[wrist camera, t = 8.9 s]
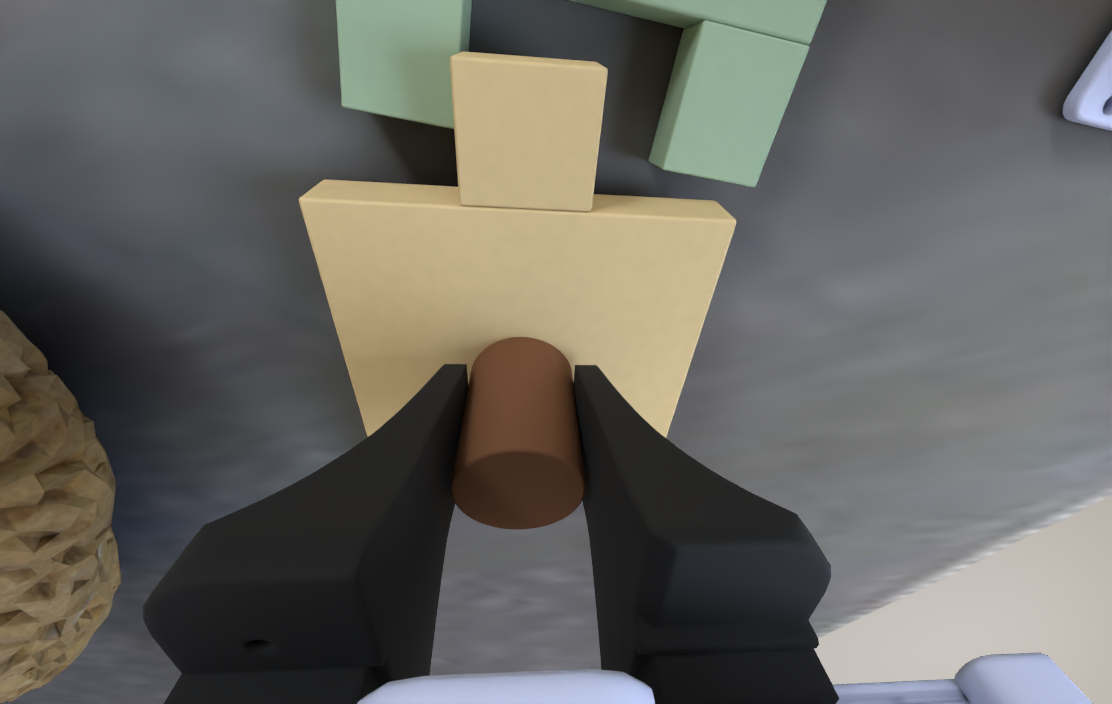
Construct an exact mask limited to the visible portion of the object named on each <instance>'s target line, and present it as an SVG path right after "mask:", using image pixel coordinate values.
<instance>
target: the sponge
mask: <svg viewBox="0 0 1112 704" xmlns="http://www.w3.org/2000/svg"><path fill="white" fill-rule="evenodd" d="M115 491H116V481H115V478H114V475H113V472H112V469H111V466H110V463H109V459H108V456H107V454H106V451H105V449H104V448H103V446H102V445H101V443H100V442H99V440H98V439H97V437H96V436H95V428H94V421H92V420H91V419H89V418H87V417H86V416H85V415H84V414H83V413H82V412H81V411H80V410H79V407H78V404H77V400H76V399H75V397H74V396H73V395H72V393H71V392H70V391H69V390H68V388H67V387H66V386H65V384H64V383H63V382H62V381H61V379H60V378H59V377H58V375H55V374H54V373H53V371H51V370H48V366H47V360H46V358H45V356H44V354H43V353H42V352H41V351H40V350H39V349H38V348H37V347H35V346H34V345H33V344H32V343H31V342H30V341H29V340H28V339H27V338H26V337H25V336H24V334H23V333H22V332H21V331H20V330H19V329H18V328H17V326H16V325H15V324H14V323H13V322H12V321H11V320H10V318H9V317H8V316H7V315H6V314H5V313H4V312H3V311H1V310H0V703H2V702H4V701H7V700H8V701H9V702H12V701H13V700H15V699H16V698H18V697H19V696H21V695H22V694H24V693H26V692H28V691H30V690H32V689H36V688H40V687H42V686H41V685H44V684H46V683H48V682H50V681H51V680H52V679H53V678H55V677H56V676H57V675H58V674H59V673H60V672H62V671H63V670H64V669H65V668H66V667H67V666H69V665H70V664H71V663H72V662H73V661H74V660H75V659H76V658H77V657H78V656H79V654H80V653H81V652H82V651H83V650H84V649H85V647H86V645H87V644H88V642H89V640H90V638H91V637H92V635H93V634H94V633H95V631H96V630H97V629H98V628H99V627H100V625H101V624H102V623H103V622H104V620H105V619H106V618H107V617H108V615H109V612H110V610H111V607H112V602H113V595H114V593H115V592H116V590H117V588H118V586H119V584H121V577H122V574H121V572H120V569H119V568H120V567H121V566H120V563H119V559H118V545H117V539H115V537H114V534H113V531H112V528H111V522H112V514H113V507H114V499H115Z"/></svg>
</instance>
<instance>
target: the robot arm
mask: <svg viewBox="0 0 1112 704" xmlns="http://www.w3.org/2000/svg"><path fill="white" fill-rule="evenodd" d="M1106 101H1107V102H1106ZM1105 102H1106V104H1105ZM1104 104H1105V106H1104ZM1103 106H1104V107H1103ZM1062 112H1063V115H1064V118H1066V119H1067V120H1069V121H1072V122H1076V123H1080V124H1084V125H1089V126H1093V127H1097V128H1101V129H1105V130H1109V131H1112V30H1111V32H1110V33H1109V35H1108V36H1107V38H1106V39H1105V41H1104V42H1103V44H1102V45H1101V47H1100V48H1099V50H1098V51H1097V53H1096V54H1095V56H1094V57H1093V59H1092V60H1091V62H1090V63H1089V65H1088V66H1087V68H1086V69H1085V71H1084V72H1083V74H1082V75H1081V77H1080V78H1079V80H1078V81H1077V83H1076V84H1075V86H1074V87H1073V89H1072V90H1071V92H1070V93H1069V95H1068V96H1067V98H1066V100H1065V102H1064V105H1063V111H1062ZM573 385H574V393H575V402H576V410H577V418H578V426H579V434H580V443H581V451H582V460H583V468H584V477H585V485H586V487H585V494H584V497H583V499H582V500H583V505H584V510H585V514H586V519H587V525H588V531H589V537H590V547H591V556H592V566H593V576H594V587H595V597H596V608H597V620H598V631H599V643H600V655H601V668H602V670H598V669H575V670H551V671H528V672H504V673H481V674H457V675H433V676H429V674H430V665H431V657H432V648H433V640H434V632H435V623H436V615H437V607H438V600H439V592H440V585H441V577H442V570H443V563H444V556H445V549H446V542H447V537H448V532H449V527H450V522H451V518H452V514H453V510H454V506H455V501H454V499H453V496H452V492H451V483H452V478H453V472H454V466H455V460H456V454H457V449H458V443H459V437H460V431H461V425H462V420H463V414H464V408H465V403H466V397H467V391H468V374H467V364H444V365H443V366H442V367H441V368H440V369H439V370H438V371H437V372H436V373H435V374H434V375H433V376H432V377H431V379H430V380H429V381H428V382H427V383H426V384H425V385H424V386H423V387H422V388H421V389H420V390H419V391H418V392H417V393H416V394H415V395H414V396H413V397H412V398H411V399H410V400H409V401H408V402H407V403H406V404H405V405H404V406H403V407H402V408H401V409H400V410H399V411H398V412H397V413H396V414H395V415H394V416H392V417H391V418H390V419H389V420H388V421H387V422H386V423H385V424H384V425H382V426H381V427H380V428H379V429H378V430H376V431H375V432H374V433H373V434H371V435H370V436H369V437H367V438H366V439H365V440H363V441H362V442H360V443H359V444H358V445H356V446H355V447H354V448H352V449H351V450H349V451H348V452H346V453H345V454H343V455H341V456H340V457H338V458H337V459H335V460H333V461H332V462H330V463H329V464H327V465H325V466H324V467H322V468H321V469H319V470H317V471H316V472H314V473H312V474H311V475H309V476H307V477H305V478H303V479H302V480H300V481H298V482H296V483H294V484H292V485H291V486H289V487H287V488H285V489H283V490H281V491H279V492H277V493H275V494H273V495H271V496H269V497H267V498H265V499H263V500H261V501H258V502H256V503H254V504H252V505H249V506H247V507H245V508H243V509H240V510H238V511H236V512H234V513H231V514H229V515H227V516H225V517H222V518H220V519H218V520H215V521H213V522H211V523H208V524H206V525H204V526H203V527H202V528H201V530H200V531H199V532H198V533H197V534H196V536H195V537H194V538H193V539H192V541H191V542H190V543H189V544H188V546H187V547H186V548H185V549H184V551H183V552H182V553H181V555H180V556H179V557H178V559H177V560H176V561H175V563H174V564H173V565H172V567H171V568H170V569H169V571H168V572H167V573H166V575H165V576H164V577H163V579H162V580H161V581H160V583H159V584H158V585H157V587H156V588H155V589H154V591H153V592H152V593H151V595H150V596H149V598H148V599H147V601H146V602H145V604H144V606H143V619H144V622H145V625H146V626H147V628H148V630H149V632H150V634H151V636H152V637H153V638H154V639H155V641H156V642H157V643H158V644H159V646H160V647H161V648H162V649H163V650H164V652H165V653H166V654H167V655H168V657H169V658H170V659H171V660H172V662H173V663H174V664H175V665H176V667H177V668H178V669H179V670H180V671H181V673H182V674H181V676H180V678H179V679H178V681H177V683H176V684H175V686H174V688H173V689H172V691H171V693H170V694H169V696H168V698H167V699H166V701H165V703H164V704H1093V703H1092V702H1091V701H1090V700H1089V699H1088V698H1087V697H1086V696H1085V695H1084V694H1083V693H1082V692H1081V691H1080V689H1078V687H1077V686H1076V685H1075V684H1074V683H1073V682H1072V681H1071V680H1070V679H1069V678H1068V677H1067V676H1066V675H1065V673H1064V672H1063V671H1062V670H1061V669H1060V668H1059V667H1058V666H1057V665H1056V664H1055V663H1054V662H1053V661H1052V660H1051V658H1050V657H1049V656H1048V655H1045V654H1042V653H1019V654H998V655H997V654H995V655H986V656H981V657H978V658H976V659H973V660H971V661H969V662H968V663H966V664H965V665H964V666H963V667H962V668H961V669H960V670H959V671H958V672H957V674H956V675H955V679H946V680H945V679H944V680H923V681H903V682H880V683H858V684H837V685H832V683H831V681H830V679H829V677H828V675H827V674H826V672H825V670H824V668H823V666H822V664H821V662H820V660H819V658H818V656H817V654H816V652H815V650H814V648H817V646H818V645H819V642H818V637H817V636H816V634H815V632H814V630H813V628H812V626H811V624H810V623H809V621H808V619H809V618H810V616H811V615H812V613H813V611H814V610H815V608H816V606H817V605H818V603H819V602H820V600H821V598H822V597H823V595H824V593H825V591H826V589H827V586H828V584H829V581H830V579H831V565H830V564H829V562H828V561H827V559H826V557H825V556H824V554H823V553H822V551H821V549H820V548H819V546H818V544H817V543H816V541H815V540H814V538H813V536H812V535H811V533H810V532H809V530H808V529H807V528H806V526H805V525H804V524H803V522H802V521H801V519H800V518H799V517H798V515H797V514H795V513H793V512H791V511H789V510H787V509H785V508H782V507H780V506H778V505H776V504H774V503H772V502H770V501H767V500H765V499H763V498H761V497H759V496H757V495H754V494H752V493H750V492H749V491H747V490H745V489H743V488H741V487H739V486H738V485H736V484H734V483H732V482H730V481H728V480H727V479H725V478H723V477H721V476H720V475H718V474H716V473H715V472H713V471H711V470H710V469H708V468H707V467H705V466H704V465H702V464H701V463H699V462H698V461H696V460H695V459H693V458H692V457H690V456H689V455H687V454H686V453H684V452H683V451H682V450H680V449H679V448H678V447H676V446H675V445H674V444H672V443H671V442H670V441H669V440H667V439H666V438H665V437H664V436H662V435H661V434H660V433H659V432H658V431H656V430H655V429H654V428H653V427H652V426H651V425H650V424H649V423H648V422H647V421H646V420H645V419H643V418H642V417H641V416H640V415H639V414H638V413H637V412H636V411H635V409H634V408H633V407H632V406H631V405H630V404H629V403H628V402H627V401H626V400H625V399H624V397H623V396H622V395H621V394H620V393H619V392H618V391H617V389H616V388H615V387H614V386H613V385H612V383H611V382H610V381H609V380H608V378H607V377H606V376H605V375H604V373H603V372H602V371H601V370H600V368H599V367H598V366H597V365H575V369H574V382H573Z"/></svg>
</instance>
